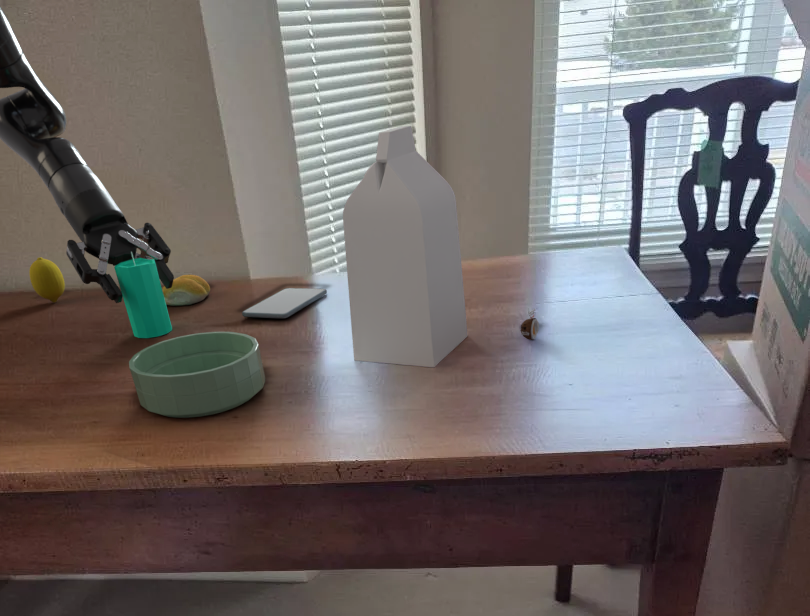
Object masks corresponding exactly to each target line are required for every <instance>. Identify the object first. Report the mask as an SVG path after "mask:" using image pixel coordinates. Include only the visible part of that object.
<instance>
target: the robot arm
mask: <svg viewBox="0 0 810 616" xmlns="http://www.w3.org/2000/svg"><path fill="white" fill-rule="evenodd" d="M10 88H23V89H21V90H18V91H16V92H14V93H11V94H9V95H6V96H4V97H1V98H0V140H1V142H3V143H4V144H5V145H6V146H7V147H8V148H9V149H11V151H12V152H14V153H15V154H16V155H18V156H19V157H20V158H21V159H23V160H24V161H25V162H26V163H27V164H28V165H29V166H30V167H31V168H32V169H33V170H34V171H35V172H36V173H37V175H38V176H39V178H40V179H41V181H42V182H43V184H44V185H45V186H46V188H47V189H48V190H49V192H50V194H51V196H52V197H53V200H54V202H55V204H56V206H57V207H58V209H59V211H60V213H61V214H62V215H63V216H64V218H65V219H66V220H67V222H68V223H69V225H70V227H71V228H72V230H73V231H74V233H75V234H76V235H77V237H78V238H79V240H80V242H76V240H74V239H68V240H67V242H66V252H65V254H66V256H67V258H68V259H69V261H70V264H71V265H72V266H73V268H74V269H75V271H76V273H77V275H78V277H79V278H80V280H81V282H82V283H83V284H86V285H89V284H91V283H97V285H99V286H100V288H101V289H102V290H103V291H104V293H105V295H106V297H108V299H109V300H110V301H114V303H115V304H119V303H122V302H123V294H122V292H121V289H120V286H119V285H117V283H116V282H115V279H114V278H113V277H112V276H111V274H110V273H107V270H108V265H112V266H113V267H115V266H116V265H117V264H119V263H121V262H124V261H128V260H132V259H133V258H134V259H136V258H144V259H149V260H151V259H154V260H155V264H156V267H157V271H158V275H159V279H160V283H162V285H163V287H164V286H165V287H166V289H169V288H172V285H173V280H174V279H175V276H174V274H173V272H172V270H171V269H170V268H169V266H168V263H169V261H170V260H169V259H170V255H171V253H172V250H171V248H170V246H169V245H168V244H167V243H166V241H165V240H164V239H163V238H162V236H161V235H160V234H159V233H158V231H157V229H156V228H155V227H154V226H153V225H152V223H150V222H145V223H144V225H143V227H140V228H136V229H135V228H133V227H132V226H131V225H130V224H129V222H128V221H127V218H126V216H125V215H124V213H123V211H122V210H121V208H119V206H118V205H117V203H116V202H115V200H114V199H113V197H112V196H111V194H110V193H109V191H108V189H107V188H106V186H105V185H104V183H102V181H101V179H100V178H99V177H98V176H97V175H96V174H95V173H94V172H93V170H92V169H91V167H90V166H89V164H88V163H87V161H86V160H85V159H84V157H83V155H81V152H80V151H79V150H78V149H77V148H78V147H76V146H75V144H73V142H71V141H70V140H68V139H67V138H64V137H61V136H62V135H63V133H64V132H66V129H67V122H68V121H67V114H66V112H65V109H64V108H63V106H62V104H61V103H60V101H59V100H58V99H57V97H55V95H54V94H53V93H52V92H51V90H50V89H49V88H48V86H46V84H45V83H44V82H43V81H42V80H41V78H40V77H39V75H38V74H37V73H36V71H35V69H34V68H33V67H32V65H31V63H30V61H29V60H28V58H27V56H26V54H25V52H24V50H23V48H22V46H21V43H20V42H19V40H18V37H17V35H16V33H15V31H14V29H13V27H12V24H11V22H10V20H9V18H8V17H7V15H6V13H5V11H4V9H3V8H2V6H1V5H0V89H10ZM59 136H60V137H59ZM138 250H139V251H140V253H138V252H137V251H138ZM131 252H132V254H133V258H132V254H131ZM85 253H87V254H89V255H90V256H93V257H94V258H96V259H98V263H97V268H92V266H91V265H90V264H89V262H88V260H87V259H86V256H85Z"/></svg>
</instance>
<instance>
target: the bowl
mask: <svg viewBox="0 0 810 616" xmlns="http://www.w3.org/2000/svg"><path fill="white" fill-rule="evenodd" d="M128 365H129V371H130V375H131V378H132V381H133V384H134V387H135V390H136V394H137V398H138V401H139V404H140V406H141V407H142V408H144V409H145V410H146V411H148V412H149V413H150V412H151V413H154V414H158V415H161V416H164V417H169V418H178V419H179V418H180V419H181V418H183V419H185V418H189V419H190V418H199V417H207V416H212V415H216V414H219V413H220V414H221V413H224V412H227V411H229V410H233V409H235V408H238V407H239V406H241V405H244V404H245V403H247V402H249V400H251V399H252V398H253V397H254V396H256V394H258V393H259V392H260V391H261V390H262V389H264V386H265V384H266V375H265V369H264V364H263V359H262V354H261V349H260V345H259V343H258V341H257V339H256V337H253V336H251V335H248V334H247V333H241V332H236V331H207V332H206V331H205V332H197V333H191V334H185V335H180V336H176V337H173V338H168V339H165V340H162V341H159V342H156V343H154V344H152V345H151V344H150V345H149V346H147V347H145V348H143V349H141V350H140V351H138V352H137V353H135V354H134V355H133V356H132V357H131V358H130V360H129V361H128Z"/></svg>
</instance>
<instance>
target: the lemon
mask: <svg viewBox="0 0 810 616" xmlns="http://www.w3.org/2000/svg"><path fill="white" fill-rule="evenodd" d="M28 275H29V280H30V283H31V286H32V288H33V291H35V293H36V294H37V295H38V296H39V297H41V298H42V299H45V300H49V301H50V302H52V303H56V302H58V300H59V298H60V297H61V296H62V295H63V294H64V292H65V288H66V284H65V283H66V282H65V278H64V275H63V273H62V271H61V270H60V268H59V267H58V265H57V264H56V263H55V262H53V261H52V260H50V259H47V258H44V257H42V256H39V257H37V259H36V260H34V261H33V262H32V263H31V265H30V266H29V272H28Z"/></svg>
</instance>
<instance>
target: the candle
mask: <svg viewBox="0 0 810 616" xmlns="http://www.w3.org/2000/svg"><path fill="white" fill-rule="evenodd" d="M131 254H132V252H131ZM132 258H133V254H132ZM113 269H114V272H115V276H116V279H117V283H118V287H119V289H120V290H121V292H122V294H123V297H122V300H123V303H124V306H125V309H126V312H127V316H128V320H129V323H130V327H131V330H132V334H133V337H135V338H138V339H150V338H151V339H152V338H157V337H161V336H164V335H167V334H169V333H170V332H172V331H173V325H172V322H171V318H170V314H169V311H168V307H167V306H168V305H166V302H165V298H164V295H163V291H162V288H163V286H162V284H161V283H162V282H161V280H160V279H159V275H158V271H157V267H156V264H155V260H154V259H153V258H152V259H151V260H149V259H144V258H136V259H134V258H133V259H132V260H128V261H124V262H121V263H119V264H117V265H116V266H113Z"/></svg>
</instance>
